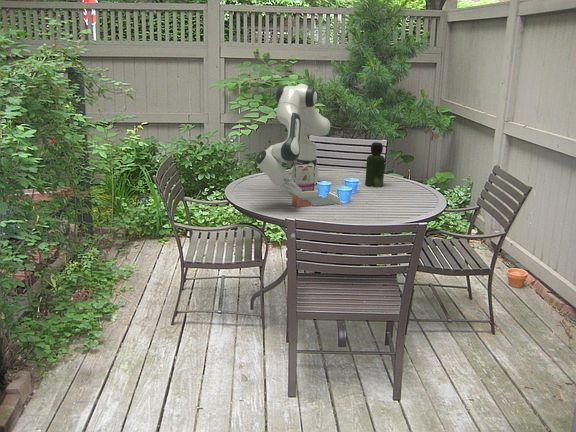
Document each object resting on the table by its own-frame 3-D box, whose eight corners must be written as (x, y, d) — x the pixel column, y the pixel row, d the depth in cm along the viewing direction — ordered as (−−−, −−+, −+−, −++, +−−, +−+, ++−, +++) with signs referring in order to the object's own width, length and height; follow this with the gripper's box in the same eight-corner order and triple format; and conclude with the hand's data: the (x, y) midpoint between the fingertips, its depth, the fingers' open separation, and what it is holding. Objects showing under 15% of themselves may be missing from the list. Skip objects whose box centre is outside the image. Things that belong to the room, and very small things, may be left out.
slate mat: (299, 199, 336) (299, 198, 335) (323, 197, 342) (323, 196, 342) (313, 206, 322) (313, 205, 322) (338, 204, 328) (338, 203, 328)
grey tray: (298, 198, 337) (298, 191, 336) (324, 196, 344) (325, 189, 343) (313, 206, 322) (314, 199, 321) (341, 204, 329) (341, 197, 328)
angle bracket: (292, 204, 324) (292, 187, 321) (306, 203, 327) (306, 186, 325) (296, 207, 319) (297, 189, 317) (310, 206, 323) (311, 188, 320)
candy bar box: (311, 193, 349) (312, 163, 344) (314, 195, 344) (315, 165, 340) (291, 193, 346) (292, 164, 341) (294, 196, 341) (295, 166, 337)
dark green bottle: (386, 186, 371) (389, 144, 364) (370, 187, 367) (373, 144, 360) (377, 183, 380) (380, 141, 373) (361, 183, 376) (364, 141, 370)
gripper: (294, 177, 305) (311, 195, 312) (276, 168, 323) (293, 186, 330) (285, 187, 304) (302, 205, 311) (268, 178, 322) (284, 195, 329)
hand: (297, 195), depth 321 cm, fingers closed on angle bracket, 5 cm apart
